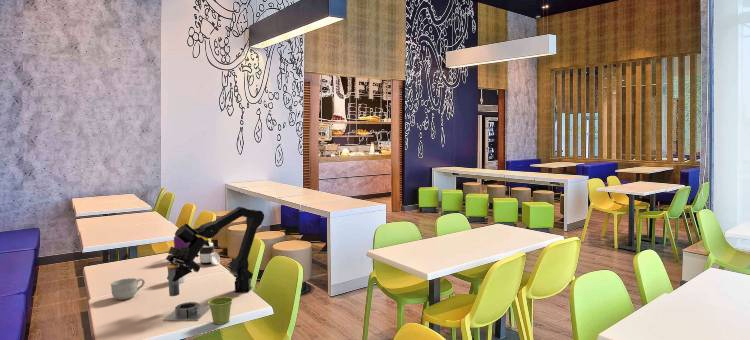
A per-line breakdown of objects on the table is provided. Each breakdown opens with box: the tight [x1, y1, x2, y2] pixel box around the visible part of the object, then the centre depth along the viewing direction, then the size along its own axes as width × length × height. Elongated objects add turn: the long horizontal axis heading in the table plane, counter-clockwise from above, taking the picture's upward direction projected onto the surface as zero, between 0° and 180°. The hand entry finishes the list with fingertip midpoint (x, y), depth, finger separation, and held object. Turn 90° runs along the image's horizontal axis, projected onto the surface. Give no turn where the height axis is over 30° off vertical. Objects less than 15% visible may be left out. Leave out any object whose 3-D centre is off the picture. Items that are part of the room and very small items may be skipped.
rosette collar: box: [162, 301, 211, 322], centre depth 197 cm, size 14×14×4 cm
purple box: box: [173, 235, 189, 249], centre depth 284 cm, size 9×16×15 cm, turn 34°
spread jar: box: [199, 242, 221, 266], centre depth 274 cm, size 12×11×12 cm
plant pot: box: [207, 296, 234, 325], centre depth 188 cm, size 9×9×9 cm
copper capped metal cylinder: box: [166, 263, 180, 297], centre depth 201 cm, size 4×4×13 cm
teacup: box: [110, 277, 146, 301], centre depth 219 cm, size 14×11×8 cm
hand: (170, 280), depth 200 cm, fingers closed on copper capped metal cylinder, 4 cm apart
